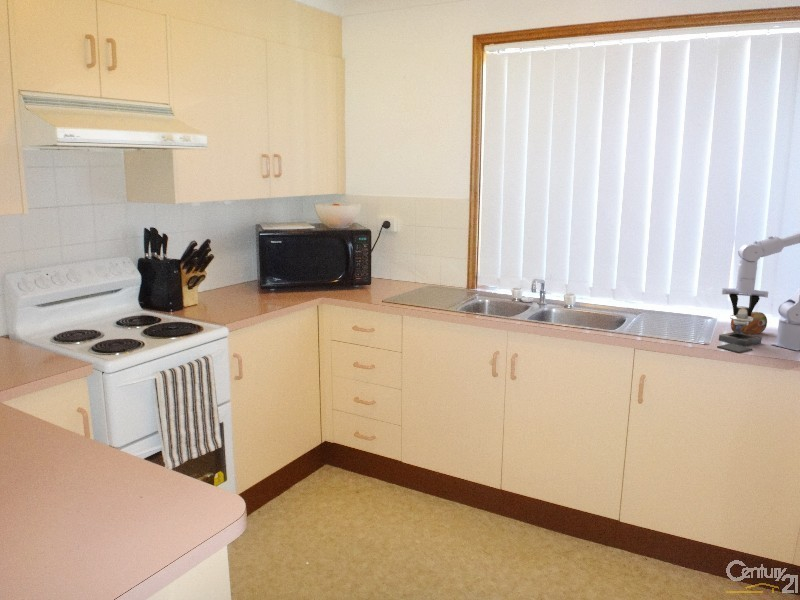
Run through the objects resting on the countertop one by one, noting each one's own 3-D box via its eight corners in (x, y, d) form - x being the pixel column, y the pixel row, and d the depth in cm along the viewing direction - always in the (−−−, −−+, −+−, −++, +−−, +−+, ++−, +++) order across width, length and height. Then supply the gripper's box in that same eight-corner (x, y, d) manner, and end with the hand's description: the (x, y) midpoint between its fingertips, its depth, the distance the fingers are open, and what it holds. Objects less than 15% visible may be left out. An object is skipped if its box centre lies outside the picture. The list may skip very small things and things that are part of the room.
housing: (761, 343, 235) (761, 337, 235) (744, 346, 230) (745, 341, 230) (734, 336, 244) (735, 331, 243) (718, 340, 239) (719, 334, 238)
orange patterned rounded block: (734, 335, 246) (736, 314, 244) (727, 333, 249) (730, 312, 247) (766, 333, 250) (769, 312, 248) (760, 331, 253) (762, 310, 251)
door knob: (756, 325, 232) (758, 308, 231) (744, 327, 229) (746, 310, 228) (737, 320, 239) (739, 304, 237) (725, 322, 235) (727, 306, 234)
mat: (752, 350, 226) (752, 348, 226) (738, 353, 222) (738, 351, 222) (730, 344, 232) (730, 343, 232) (717, 347, 228) (717, 346, 228)
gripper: (767, 277, 232) (762, 314, 234) (722, 274, 236) (718, 311, 239) (771, 280, 225) (766, 318, 228) (724, 277, 230) (720, 315, 233)
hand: (741, 315), depth 233 cm, fingers closed on door knob, 4 cm apart
